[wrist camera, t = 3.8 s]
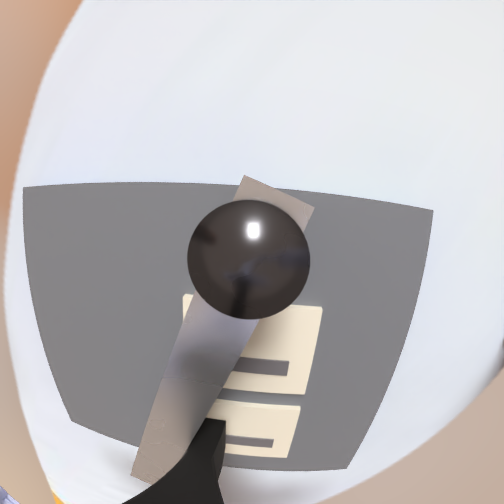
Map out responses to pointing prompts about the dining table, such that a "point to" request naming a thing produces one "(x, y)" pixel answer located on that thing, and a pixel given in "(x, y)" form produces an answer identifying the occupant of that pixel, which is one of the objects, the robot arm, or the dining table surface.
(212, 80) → the dining table surface
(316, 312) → the label near
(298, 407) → the cream flat block
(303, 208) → the lever
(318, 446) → the board
